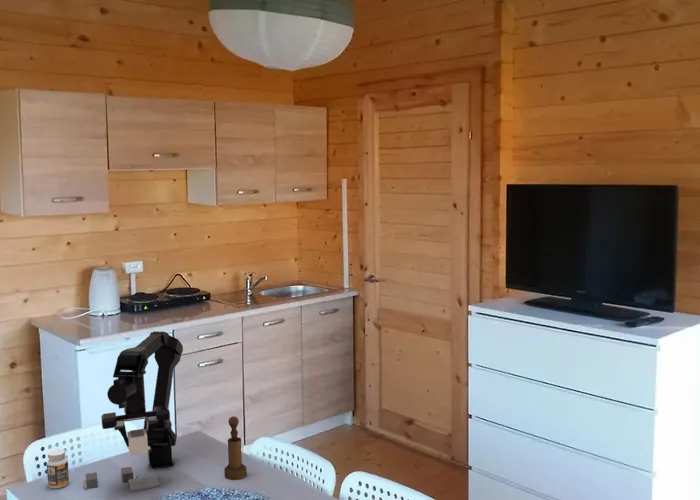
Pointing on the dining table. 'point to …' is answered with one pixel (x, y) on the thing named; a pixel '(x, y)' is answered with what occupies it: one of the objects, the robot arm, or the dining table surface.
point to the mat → (143, 482)
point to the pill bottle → (57, 469)
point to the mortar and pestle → (234, 454)
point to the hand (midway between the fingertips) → (137, 445)
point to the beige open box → (137, 442)
